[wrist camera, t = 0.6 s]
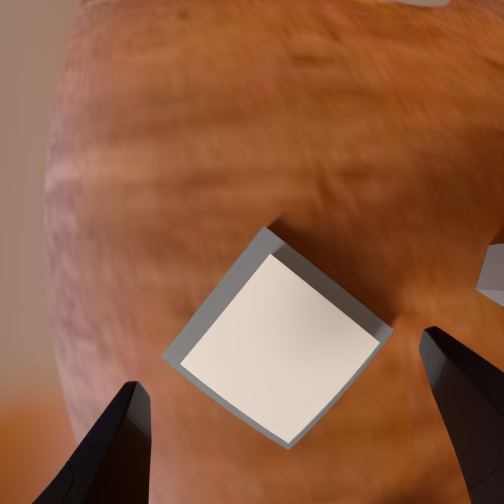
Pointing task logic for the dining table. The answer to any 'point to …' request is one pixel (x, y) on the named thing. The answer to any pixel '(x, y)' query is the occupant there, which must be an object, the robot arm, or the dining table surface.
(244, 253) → the square tray
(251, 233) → the dining table surface
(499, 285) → the slate block
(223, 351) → the off-white top slab
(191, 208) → the dining table surface
